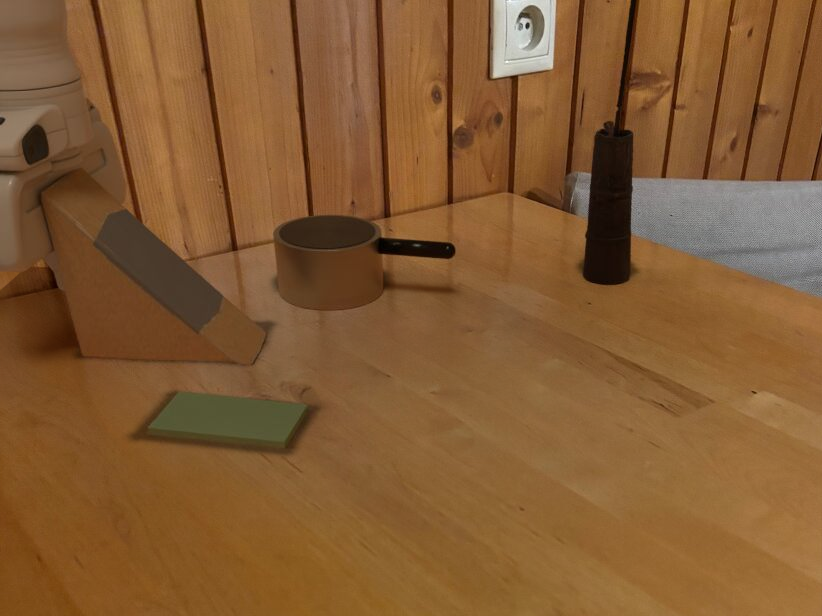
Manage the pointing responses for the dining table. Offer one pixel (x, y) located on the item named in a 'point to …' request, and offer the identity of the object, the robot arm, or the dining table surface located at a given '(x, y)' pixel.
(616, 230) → the butter churn
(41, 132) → the robot arm
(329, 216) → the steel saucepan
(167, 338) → the sandwich container
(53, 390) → the dining table surface
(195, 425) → the green rectangular slab
